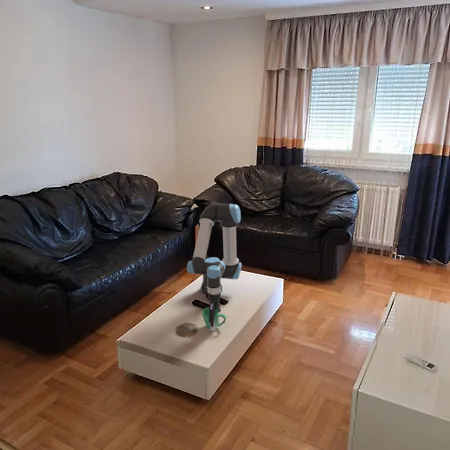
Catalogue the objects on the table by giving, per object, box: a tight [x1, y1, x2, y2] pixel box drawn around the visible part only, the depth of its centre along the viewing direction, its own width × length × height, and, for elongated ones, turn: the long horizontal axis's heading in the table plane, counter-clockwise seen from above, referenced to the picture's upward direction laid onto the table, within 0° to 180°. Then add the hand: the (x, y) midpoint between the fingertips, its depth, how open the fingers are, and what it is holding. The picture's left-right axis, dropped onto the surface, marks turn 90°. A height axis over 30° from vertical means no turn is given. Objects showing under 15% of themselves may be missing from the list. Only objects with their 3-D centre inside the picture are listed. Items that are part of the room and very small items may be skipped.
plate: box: [175, 322, 199, 338], centre depth 232 cm, size 13×13×1 cm
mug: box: [201, 306, 227, 329], centre depth 233 cm, size 15×10×10 cm
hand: (214, 326), depth 235 cm, fingers closed on mug, 9 cm apart
